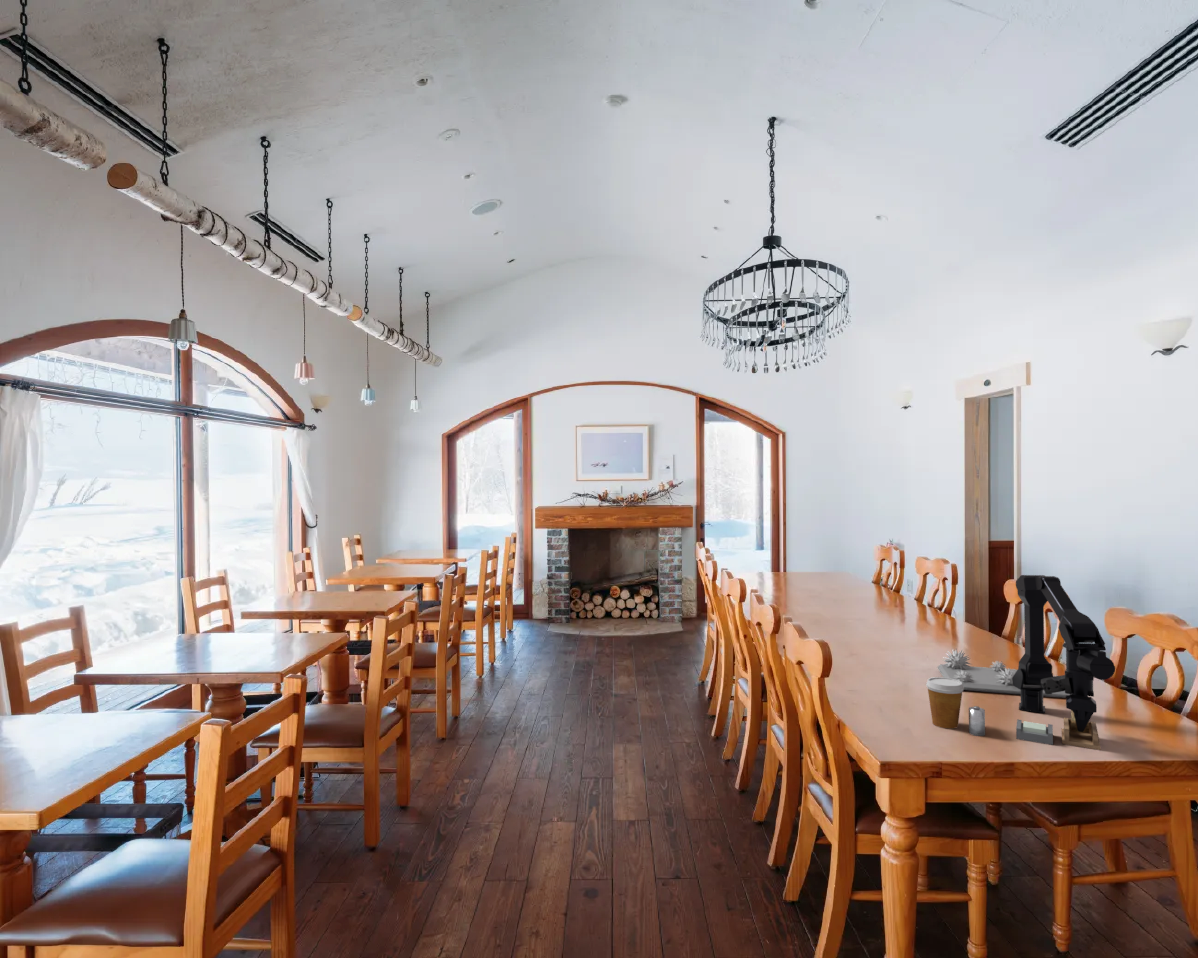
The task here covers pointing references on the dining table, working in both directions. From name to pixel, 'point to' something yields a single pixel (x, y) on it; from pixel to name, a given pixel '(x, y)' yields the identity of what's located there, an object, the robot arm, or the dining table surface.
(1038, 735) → the base
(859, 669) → the dining table surface
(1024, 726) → the checker pad
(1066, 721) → the wooden open box
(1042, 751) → the dining table surface
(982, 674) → the decorative tray
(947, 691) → the disposable coffee cup
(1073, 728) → the cell bronze
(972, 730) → the cell steel
